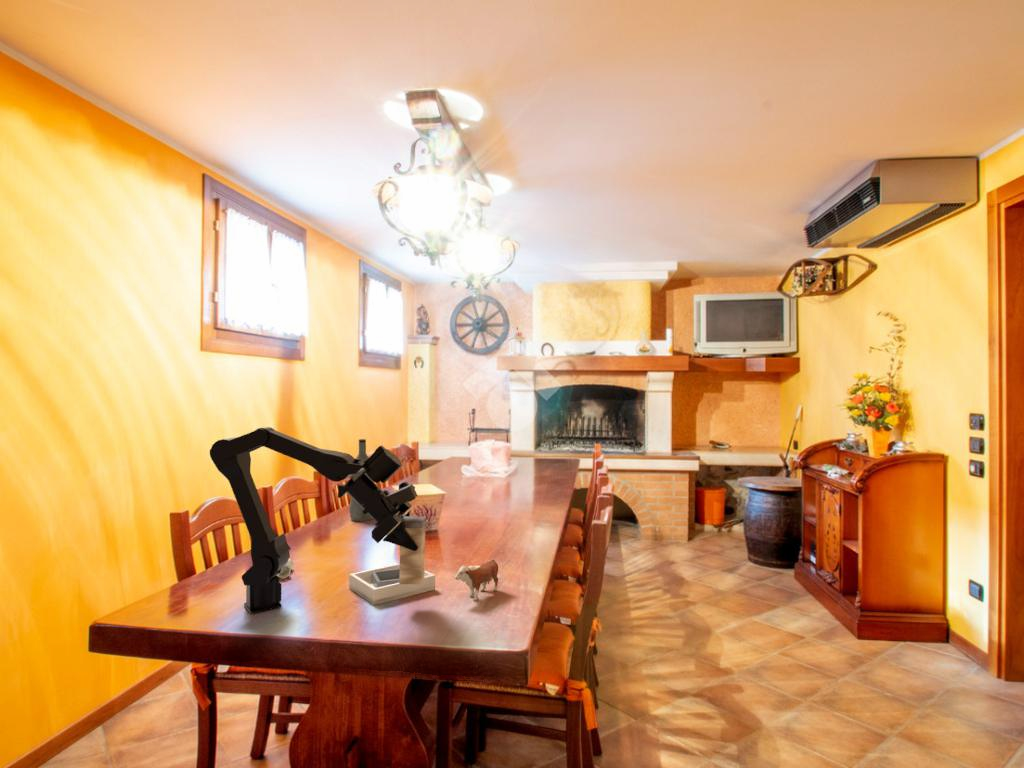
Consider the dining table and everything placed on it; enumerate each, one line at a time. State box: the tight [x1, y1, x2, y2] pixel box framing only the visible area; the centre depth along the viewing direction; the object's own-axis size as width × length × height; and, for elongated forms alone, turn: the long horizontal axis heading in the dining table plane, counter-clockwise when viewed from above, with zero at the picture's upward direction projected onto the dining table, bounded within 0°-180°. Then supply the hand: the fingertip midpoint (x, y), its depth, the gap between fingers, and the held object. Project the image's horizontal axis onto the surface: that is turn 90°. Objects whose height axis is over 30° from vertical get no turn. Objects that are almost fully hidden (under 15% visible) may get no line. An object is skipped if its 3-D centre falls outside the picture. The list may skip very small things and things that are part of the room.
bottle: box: [349, 438, 375, 522], centre depth 216 cm, size 9×9×30 cm
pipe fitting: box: [276, 558, 295, 579], centre depth 152 cm, size 8×4×7 cm
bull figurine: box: [454, 559, 499, 602], centre depth 135 cm, size 4×13×8 cm, turn 140°
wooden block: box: [399, 515, 427, 584], centre depth 129 cm, size 5×5×14 cm
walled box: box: [348, 562, 436, 606], centre depth 140 cm, size 16×14×4 cm
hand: (418, 546), depth 129 cm, fingers closed on wooden block, 5 cm apart
